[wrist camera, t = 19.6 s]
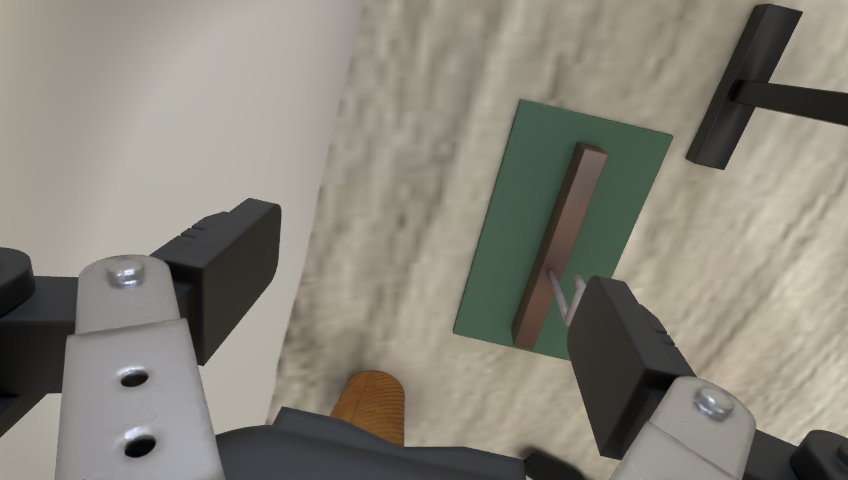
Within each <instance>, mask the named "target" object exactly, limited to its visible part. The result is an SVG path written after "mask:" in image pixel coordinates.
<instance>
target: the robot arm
mask: <svg viewBox="0 0 848 480" xmlns="http://www.w3.org/2000/svg"><path fill="white" fill-rule="evenodd" d="M280 229H281V207H280V205H279V204H275V203H270V202H265V201H261V200H257V199H252V198H248V199H246V200H245V201H244V202H242V203H241V204H240V205H238V206H237V207H235V208H234V209H233V210H231V211H230V212H229V213H228V212H221V213H218V214H214V215H211V216H207V217H204V218H203V219H202V220H200V221H199V222H197V223H196V224H194V225H193V226H192V228H188V229H187V230H185V231H184V232H183V233H181V236H177V237H175V238H174V239H173V240H171V241H169V242H168V243H167V244H165V245H164V246H162V247H161V248H159V249H158V250H156V251H155V252H153V253H152V254H151V255H149V256H145V255H120V256H113V257H109V258H105V259H101V260H99V261H96V262H94V263H92V264H90V265H88V266H87V267H85V268H84V269H83V270H82V271H81V273H80V275H79V277H49V276H33V270H32V265H31V260H30V257H29V256H28V255H27V254H25V253H24V252H22V251H19V250H15V249H10V248H2V247H0V437H1V436H3V435H4V434H5V433H6V432H7V431H8V430H9V429H10V428H11V427H12V426H13V425H14V424H15V423H17V422H18V421H19V420H20V419H21V418H22V417H23V416H24V415H25V414H26V413H27V412H28V411H29V410H31V409H32V408H33V407H34V406H35V405H36V404H37V403H38V402H39V401H40V400H41V399H42V398H43V397H44V396H45V395H46V394H48V393H62V398H61V411H60V422H59V434H58V445H57V457H56V469H55V480H526V475H525V467H524V460H522V459H517V458H513V457H508V456H504V455H499V454H495V453H490V452H486V451H481V450H477V449H472V448H468V447H403V446H398V445H396V444H393V443H391V442H389V441H387V440H385V439H382V438H380V437H378V436H376V435H374V434H372V433H370V432H367V431H365V430H363V429H361V428H359V427H357V426H354V425H352V424H350V423H348V422H346V421H344V420H342V419H337V418H333V417H328V416H324V415H319V414H315V413H310V412H306V411H301V410H297V409H292V408H288V407H283V406H282V407H281V409H280V411H279V413H278V415H277V417H276V419H275V421H274V423H273V425H261V426H251V427H245V428H240V429H235V430H231V431H228V432H224V433H221V434H218V435H214V431H213V427H212V422H211V418H210V414H209V410H208V406H207V402H206V398H205V393H204V389H203V385H202V381H201V376H200V373H199V368H198V365H201V366H204V365H205V364H206V362H207V361H208V360H209V359H210V357H211V356H212V355H213V354H214V353H215V351H216V350H217V349H218V348H219V346H220V345H221V344H222V343H223V341H224V340H225V339H226V338H227V336H228V335H229V334H230V333H231V331H232V330H233V329H234V328H235V326H236V325H237V324H238V323H239V321H240V320H241V319H242V318H243V316H244V315H245V314H246V313H247V311H248V310H249V309H250V308H251V307H252V305H253V304H254V303H255V302H256V300H257V299H258V298H259V297H260V295H261V294H262V293H263V292H264V290H265V289H266V288H267V287H268V285H269V284H270V283H271V281H272V280H273V277H274V275H275V272H276V268H277V265H278V258H279V243H280ZM567 350H568V353H569V356H570V360H571V363H572V366H573V369H574V373H575V376H576V379H577V382H578V385H579V389H580V392H581V395H582V398H583V402H584V405H585V408H586V411H587V414H588V418H589V421H590V424H591V427H592V431H593V434H594V437H595V440H596V443H597V447H598V450H599V453H600V456H604V457H608V458H613V459H617V460H621V462H620V463H619V465H618V467H617V468H616V470H615V471H614V473H613V474H612V476H611V478H610V479H609V480H848V438H845V437H843V436H841V435H838V434H836V433H832V432H829V431H824V430H812V431H810V432H809V433H808V434H807V436H806V437H805V438H804V439H803V441H802V442H801V443H800V445H799V446H798V447H797V446H794V445H792V444H790V443H787V442H785V441H783V440H780V439H778V438H776V437H773V436H771V435H769V434H766V433H764V432H762V431H759V430H757V429H756V422H755V419H754V417H753V415H752V414H751V412H750V411H749V410H748V409H747V407H746V406H745V405H744V404H743V403H742V402H741V401H739V400H738V399H737V398H736V397H735V396H733V395H732V394H730V393H729V392H727V391H726V390H724V389H723V388H721V387H719V386H717V385H715V384H713V383H711V382H708V381H706V380H703V379H700V378H697V377H696V375H695V374H694V372H693V371H692V369H691V368H690V366H689V365H688V363H687V361H686V360H685V358H684V357H683V355H682V354H681V352H680V351H679V349H678V348H677V347H675V343H674V342H673V340H672V339H671V337H670V336H669V335H667V331H666V330H665V328H664V327H663V325H662V324H661V322H660V321H659V319H658V318H657V317H655V316H654V315H653V314H652V313H651V312H650V311H648V310H647V309H646V308H645V307H644V306H643V305H640V304H639V303H638V301H637V300H636V298H635V297H634V295H633V294H632V292H631V290H630V289H629V287H628V286H627V284H626V283H625V282H623V281H619V280H614V279H610V278H605V277H601V276H596V275H593V276H592V277H591V278H590V279H589V280H588V282H587V284H586V287H585V289H584V292H583V294H582V296H581V299H580V301H579V304H578V306H577V309H576V311H575V313H574V316H573V318H572V321H571V323H570V326H569V329H568V334H567Z"/></svg>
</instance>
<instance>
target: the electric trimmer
mask: <svg viewBox="0 0 848 480" xmlns="http://www.w3.org/2000/svg"><path fill="white" fill-rule="evenodd" d="M524 467H525V475H527V476H528V477H530V478H531V479H533V480H585V479H584V478H583V476H582V475H581V474H580V473H579V472H577V471H575V470H573V469H571V468H568V467H566V466H564V465H562V464H560V463H557V462H555V461H553V460H551V459H548V458H546V457H544V456H542V455H540V454H537V453H532V454H531V455H530V456H529V457H527V458H526V459H525V460H524Z"/></svg>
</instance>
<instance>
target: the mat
mask: <svg viewBox="0 0 848 480" xmlns="http://www.w3.org/2000/svg"><path fill="white" fill-rule="evenodd" d="M672 139H673V136H672V135H670V134H665V133H661V132H657V131H653V130H648V129H644V128H640V127H636V126H631V125H627V124H623V123H619V122H614V121H610V120H606V119H602V118H597V117H593V116H589V115H585V114H580V113H576V112H572V111H568V110H563V109H559V108H555V107H551V106H546V105H542V104H538V103H534V102H529V101H525V100H520V101H519V105H518V108H517V112H516V115H515V119H514V122H513V126H512V129H511V132H510V136H509V139H508V143H507V146H506V150H505V153H504V156H503V160H502V163H501V167H500V170H499V174H498V177H497V181H496V184H495V187H494V191H493V194H492V198H491V201H490V205H489V208H488V211H487V215H486V218H485V222H484V225H483V229H482V232H481V236H480V239H479V242H478V246H477V249H476V253H475V256H474V260H473V263H472V266H471V270H470V273H469V277H468V280H467V284H466V287H465V290H464V294H463V297H462V301H461V304H460V308H459V311H458V315H457V318H456V321H455V325H454V328H453V334H457V335H461V336H466V337H470V338H474V339H479V340H483V341H487V342H492V343H496V344H500V345H504V346H509V347H513V348H517V349H522V350H526V351H530V352H535V353H539V354H543V355H548V356H552V357H556V358H561V359H565V360H569V361H571V360H570V356H569V353H568V350H567V334H568V329H569V326H567V325H566V324H565V323H564V320H563V317H562V314H561V312H560V309H559V306H558V303H557V300H556V297H555V295H554V297H553V299H552V302H551V305H550V307H549V310H548V312H547V315H546V318H545V320H544V323H543V325H542V328H541V330H540V333H539V336H538V338H537V341H536V343H535V346H534V348H533V350H529V349H525V348H520V347H516V346H513V340H512V334H511V327H512V324H513V321H514V319H515V316H516V313H517V310H518V307H519V305H520V302H521V299H522V296H523V293H524V290H525V288H526V285H527V282H528V279H529V276H530V273H531V271H532V268H533V265H534V262H535V259H536V257H537V254H538V251H539V248H540V245H541V242H542V240H543V237H544V234H545V231H546V228H547V226H548V223H549V220H550V217H551V214H552V211H553V209H554V206H555V203H556V200H557V197H558V195H559V192H560V189H561V186H562V183H563V180H564V178H565V175H566V172H567V169H568V166H569V163H570V161H571V158H572V155H573V152H574V149H575V147H576V144H577V142H580V143H584V144H588V145H593V146H597V147H600V148H601V149H602V150H603V151H605V152H606V153H607V154H608V158H607V160H606V163H605V165H604V168H603V170H602V173H601V176H600V178H599V181H598V183H597V186H596V189H595V191H594V194H593V196H592V199H591V201H590V204H589V207H588V209H587V212H586V214H585V217H584V219H583V222H582V225H581V227H580V230H579V232H578V235H577V238H576V240H575V243H574V245H573V248H572V250H571V253H570V256H569V258H568V261H567V263H566V266H565V268H564V271H563V274H562V276H561V279H560V281H559V285H560V287H561V290H562V293H563V295H564V298H565V300H566V303H567V305H568V308H569V307H570V305H571V302H572V300H573V297H574V295H575V293H576V290H577V288H576V285H575V283H574V281H573V276H574V275H576V274H579V275H581V277H582V279H583V281H584V283H585V285H586V284H587V282H588V280H589V279H590V278H591V277H592V276H593V275H596V276H601V277H605V278H610V279H611V278H612V275H613V273H614V271H615V269H616V266H617V264H618V262H619V259H620V257H621V255H622V253H623V250H624V248H625V246H626V244H627V241H628V239H629V237H630V234H631V232H632V230H633V228H634V225H635V223H636V221H637V218H638V216H639V214H640V212H641V209H642V207H643V205H644V203H645V200H646V198H647V196H648V193H649V191H650V189H651V187H652V184H653V182H654V180H655V178H656V175H657V173H658V171H659V168H660V166H661V164H662V162H663V159H664V157H665V155H666V153H667V150H668V148H669V146H670V143H671V141H672Z"/></svg>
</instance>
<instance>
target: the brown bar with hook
mask: <svg viewBox="0 0 848 480" xmlns="http://www.w3.org/2000/svg"><path fill="white" fill-rule="evenodd" d="M607 158H608V154H607V153H606V152H605V151H603V150H602V149H601V148H600V147H597V146H593V145H588V144H584V143H580V142H577V144H576V147H575V149H574V152H573V155H572V158H571V161H570V163H569V166H568V169H567V172H566V175H565V178H564V180H563V183H562V186H561V189H560V192H559V195H558V197H557V200H556V203H555V206H554V209H553V211H552V214H551V217H550V220H549V223H548V226H547V228H546V231H545V234H544V237H543V240H542V242H541V245H540V248H539V251H538V254H537V257H536V259H535V262H534V265H533V268H532V271H531V273H530V276H529V279H528V282H527V285H526V288H525V290H524V293H523V296H522V299H521V302H520V305H519V307H518V310H517V313H516V316H515V319H514V321H513V324H512V327H511V334H512V340H513V346H516V347H520V348H525V349H529V350H533V348H534V346H535V343H536V341H537V338H538V336H539V333H540V330H541V328H542V325H543V323H544V320H545V318H546V315H547V312H548V310H549V307H550V305H551V302H552V299H553V297H554V295H555V297H556V300H557V303H558V306H559V309H560V312H561V314H562V317H563V320H564V323H565V324H566V325H567V326H570V323H571V321H572V318H573V316H574V313H575V311H576V309H577V306H578V304H579V301H580V299H581V296H582V294H583V292H584V289H585V287H586V285H585V283H584V281H583V279H582V277H581V275H579V274H576V275H574V276H573V281H574V283H575V285H576V288H577V290H576V293H575V295H574V297H573V300H572V302H571V305H570V307H569V308H568V305H567V303H566V300H565V298H564V295H563V293H562V290H561V287H560V285H559V281H560V279H561V276H562V274H563V271H564V268H565V266H566V263H567V261H568V258H569V256H570V253H571V250H572V248H573V245H574V243H575V240H576V238H577V235H578V232H579V230H580V227H581V225H582V222H583V219H584V217H585V214H586V212H587V209H588V207H589V204H590V201H591V199H592V196H593V194H594V191H595V189H596V186H597V183H598V181H599V178H600V176H601V173H602V170H603V168H604V165H605V163H606V160H607Z"/></svg>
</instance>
